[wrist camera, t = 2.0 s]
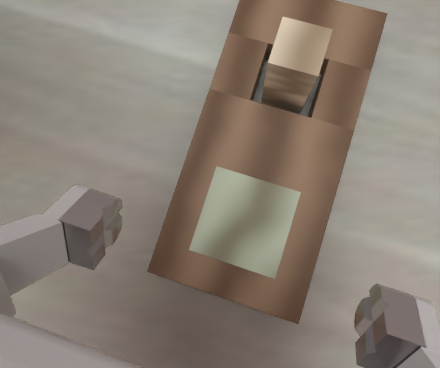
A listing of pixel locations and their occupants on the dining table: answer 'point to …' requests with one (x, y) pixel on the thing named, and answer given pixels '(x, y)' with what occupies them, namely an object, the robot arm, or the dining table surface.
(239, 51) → the puzzle board
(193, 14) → the dining table surface
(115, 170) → the dining table surface
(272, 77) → the maple block
